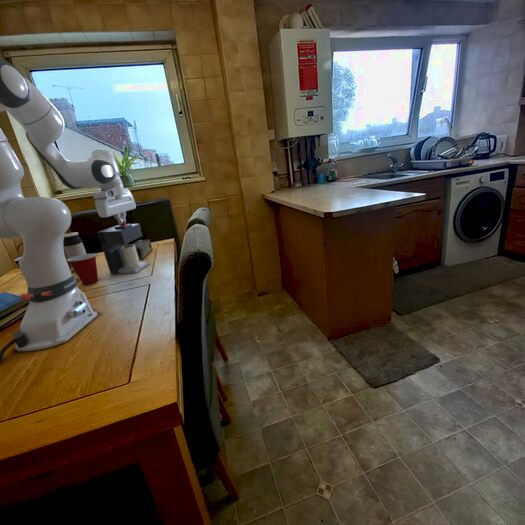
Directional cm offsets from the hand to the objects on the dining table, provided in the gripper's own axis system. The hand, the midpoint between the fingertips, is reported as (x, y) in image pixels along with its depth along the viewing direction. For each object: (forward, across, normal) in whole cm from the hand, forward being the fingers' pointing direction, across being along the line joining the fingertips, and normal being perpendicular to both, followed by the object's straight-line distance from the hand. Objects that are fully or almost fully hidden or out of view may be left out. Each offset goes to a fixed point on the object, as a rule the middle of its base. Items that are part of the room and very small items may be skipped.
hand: (122, 223), depth 123 cm
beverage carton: (+22, -20, -11) cm, 32 cm away
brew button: (+2, 0, 0) cm, 2 cm away
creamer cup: (+20, 0, -1) cm, 21 cm away
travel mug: (+22, -2, -32) cm, 39 cm away
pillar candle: (+22, -9, -43) cm, 49 cm away
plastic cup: (+22, +14, -13) cm, 29 cm away
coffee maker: (+22, 0, -2) cm, 22 cm away
